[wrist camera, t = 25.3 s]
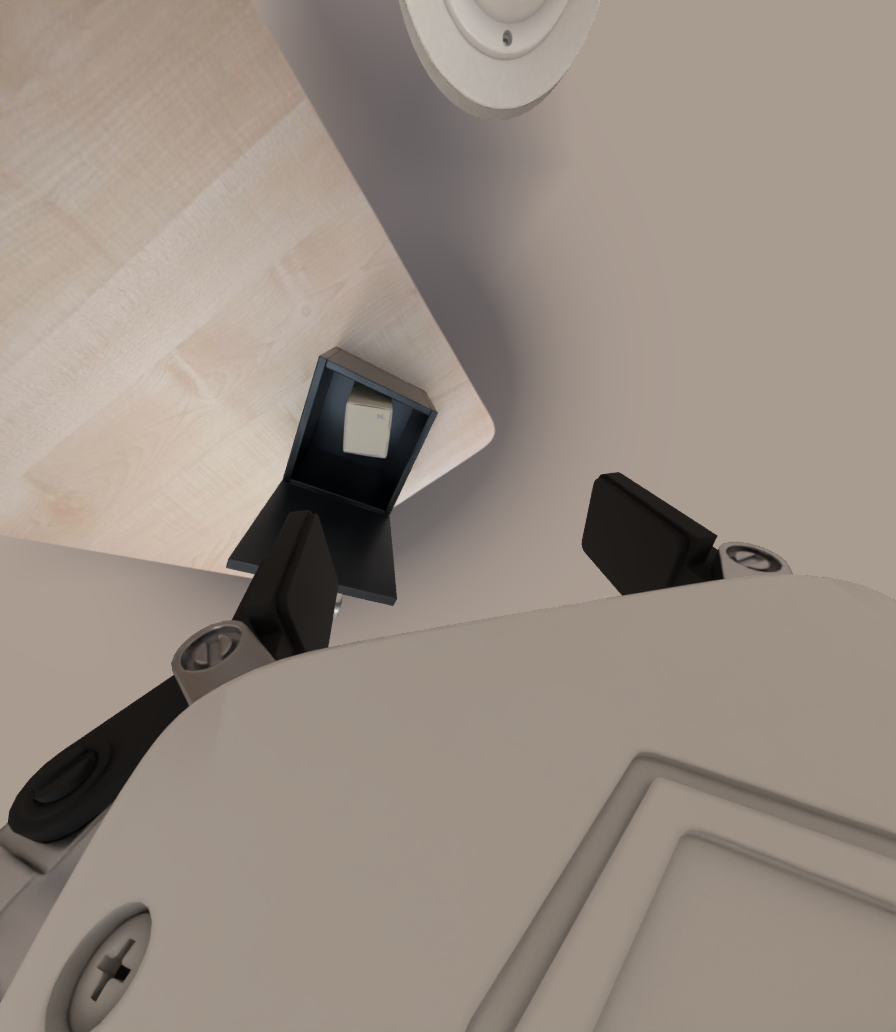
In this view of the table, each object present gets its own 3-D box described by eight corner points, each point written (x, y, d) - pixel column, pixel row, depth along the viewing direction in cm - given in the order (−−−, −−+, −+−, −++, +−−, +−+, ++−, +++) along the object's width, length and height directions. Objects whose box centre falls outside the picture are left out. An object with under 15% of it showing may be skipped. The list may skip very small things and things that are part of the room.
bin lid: (228, 558, 21) (212, 616, 23) (397, 598, 26) (373, 645, 27) (281, 480, 34) (268, 522, 35) (389, 516, 38) (373, 552, 40)
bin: (335, 346, 39) (319, 355, 29) (425, 391, 43) (438, 412, 33) (304, 445, 44) (281, 482, 34) (387, 477, 48) (388, 517, 39)
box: (355, 376, 40) (344, 397, 29) (391, 383, 41) (394, 406, 30) (352, 419, 43) (341, 453, 32) (385, 424, 44) (386, 459, 33)
